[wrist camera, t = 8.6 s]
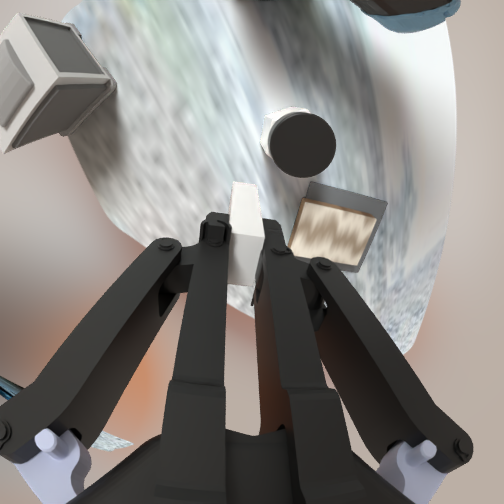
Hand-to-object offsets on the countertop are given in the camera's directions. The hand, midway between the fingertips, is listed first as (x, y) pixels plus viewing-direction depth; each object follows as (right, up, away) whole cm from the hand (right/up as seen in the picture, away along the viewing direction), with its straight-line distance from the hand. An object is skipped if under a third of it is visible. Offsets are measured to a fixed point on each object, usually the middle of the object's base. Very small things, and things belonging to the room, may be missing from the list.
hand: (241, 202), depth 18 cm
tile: (+8, +1, +30) cm, 31 cm away
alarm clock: (-31, +27, +14) cm, 43 cm away
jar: (+6, +16, +23) cm, 29 cm away
